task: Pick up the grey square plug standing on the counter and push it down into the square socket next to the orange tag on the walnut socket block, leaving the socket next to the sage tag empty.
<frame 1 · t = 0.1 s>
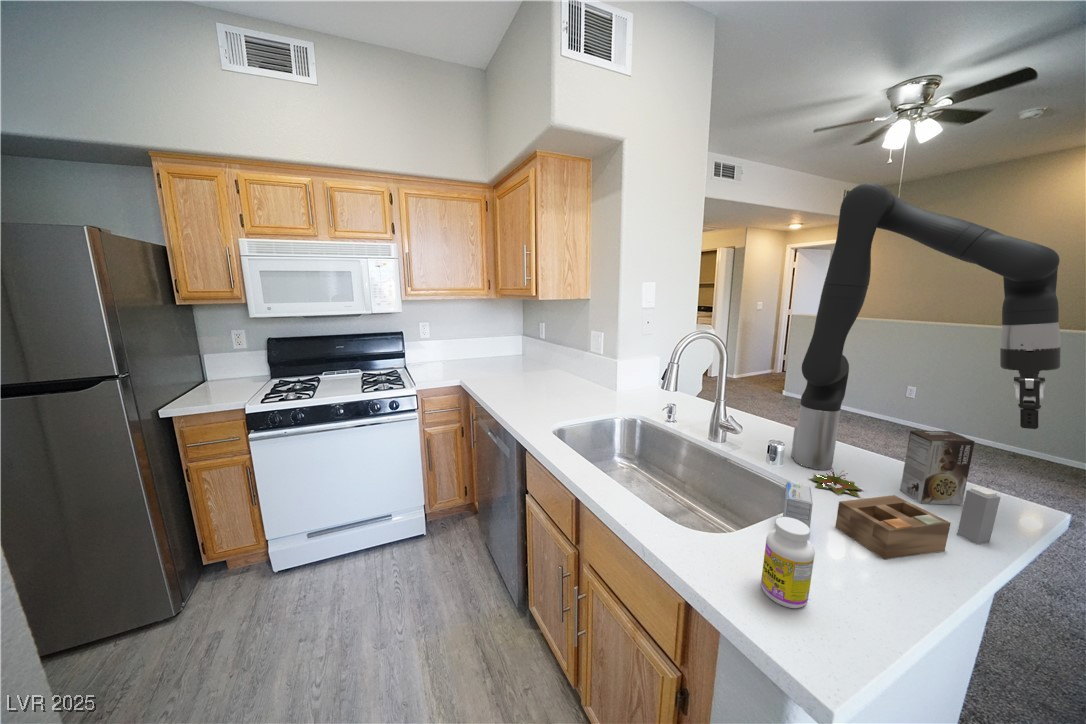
hand: (1029, 423, 78), 22 cm above the worktop, tool pointing down, fingers open, 8 cm apart
socket block: (887, 538, 76), on the worktop
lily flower: (834, 487, 97), on the worktop
supplement bottle: (783, 595, 63), on the worktop
plug: (973, 538, 76), on the worktop
coffee box: (929, 498, 91), on the worktop
medicine box: (794, 529, 80), on the worktop
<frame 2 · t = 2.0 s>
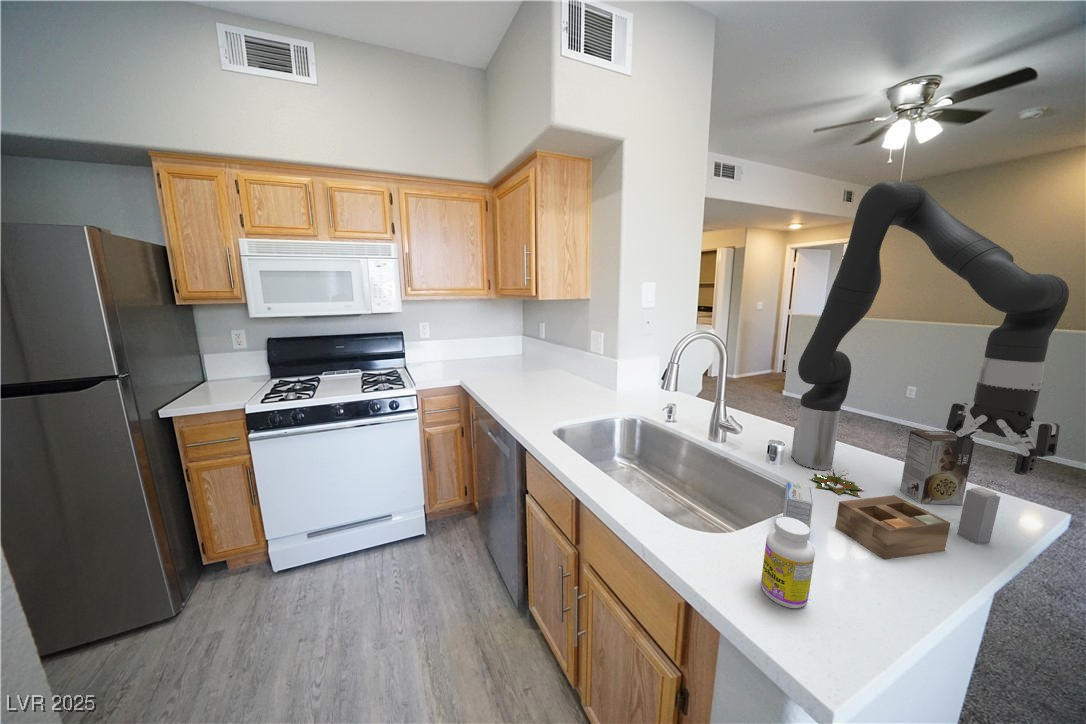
hand: (990, 463, 73), 16 cm above the worktop, tool pointing down, fingers open, 8 cm apart
nothing on the worktop moved.
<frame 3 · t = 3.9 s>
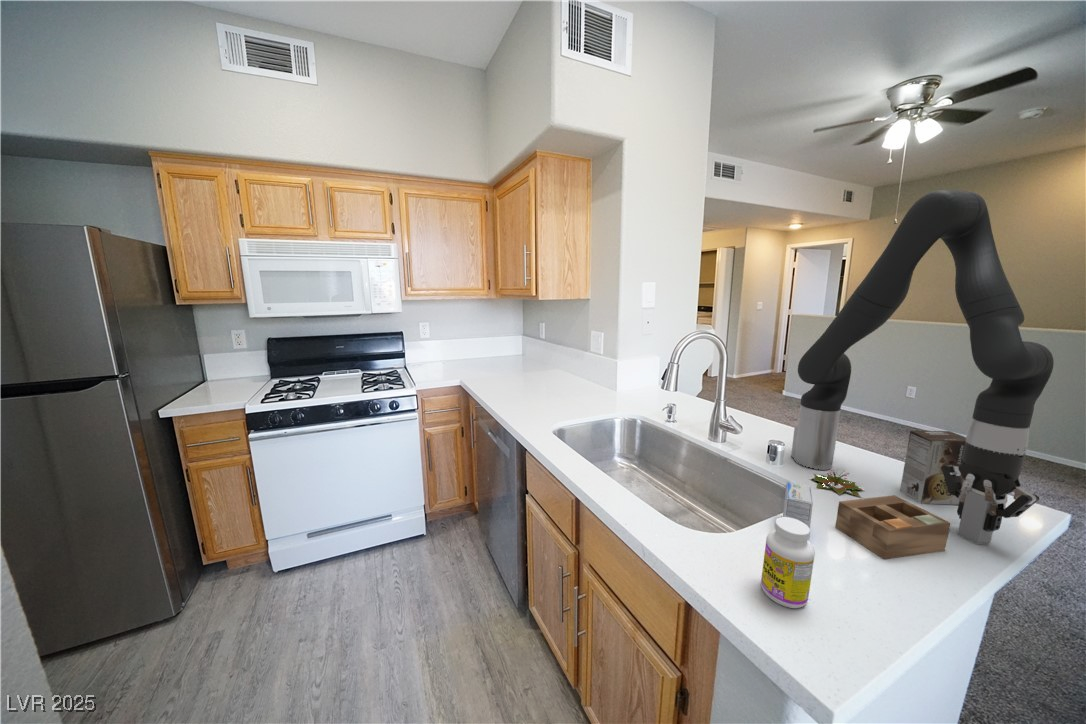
hand: (976, 524, 75), 3 cm above the worktop, tool pointing down, fingers closed on plug, 3 cm apart
plug: (973, 538, 76), on the worktop, touching gripper
everything else where it was.
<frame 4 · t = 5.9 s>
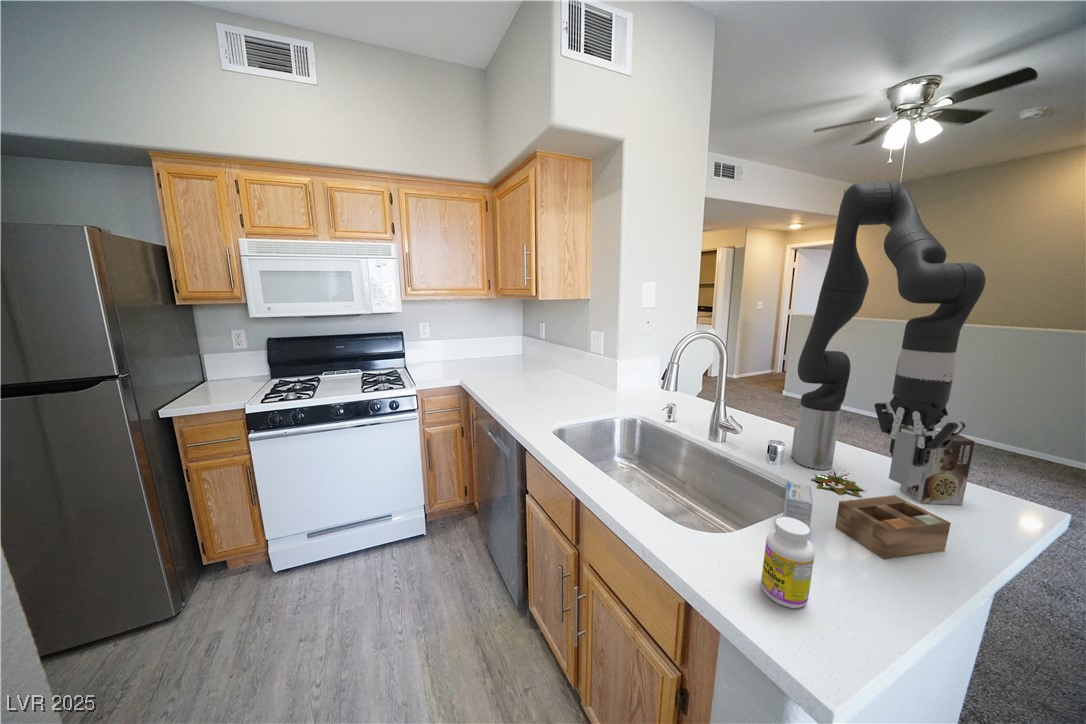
hand: (907, 460, 72), 17 cm above the worktop, tool pointing down, fingers closed on plug, 3 cm apart
plug: (904, 481, 73), point 13 cm above the worktop, touching gripper
everything else where it was.
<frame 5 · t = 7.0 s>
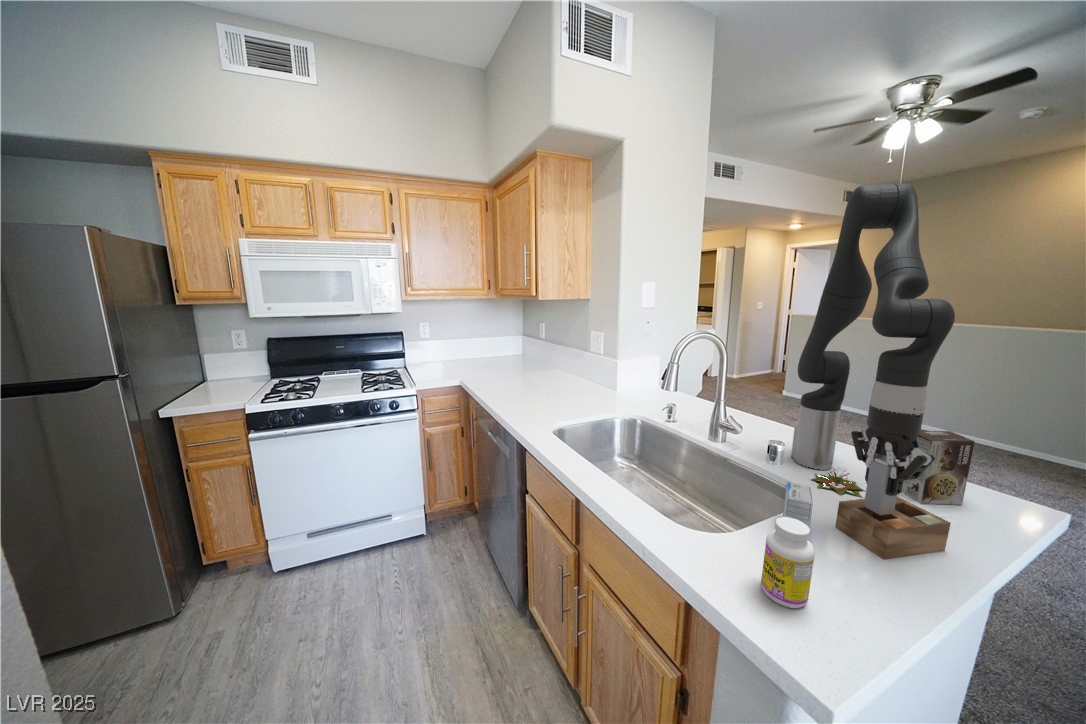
hand: (881, 489, 74), 11 cm above the worktop, tool pointing down, fingers closed on plug, 3 cm apart
plug: (878, 509, 75), point 7 cm above the worktop, touching gripper
everything else where it was.
when the fingers open (8 cm above the worktop, at t = 8.0 s): plug stays where it is, resting on socket block.
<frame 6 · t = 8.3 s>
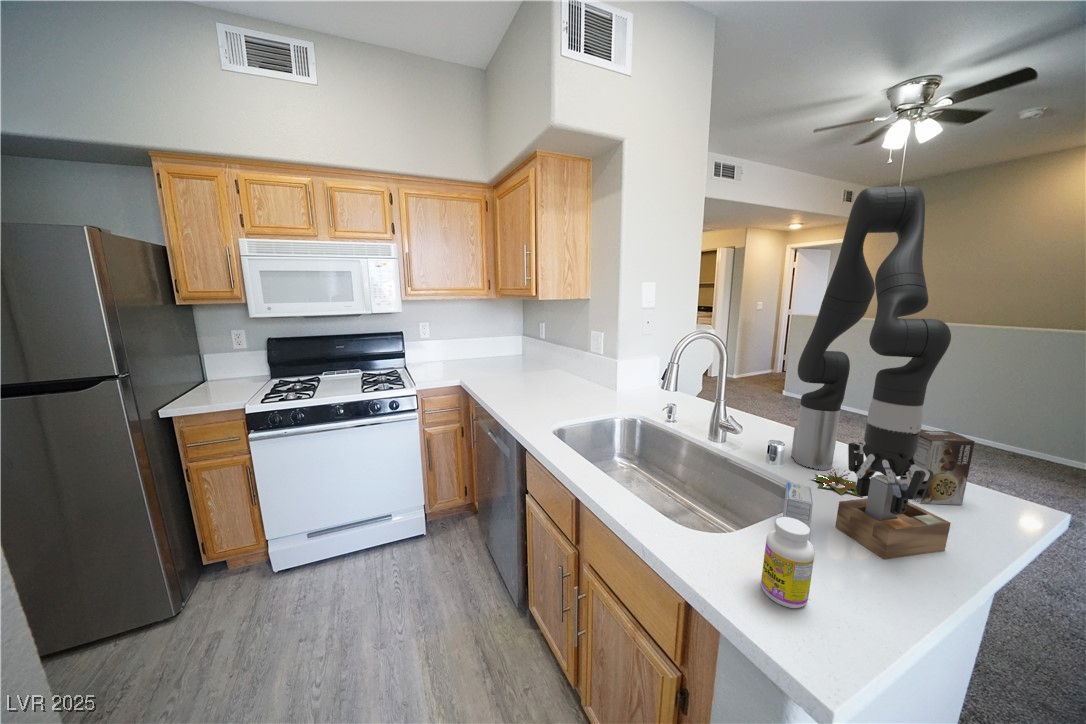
hand: (879, 503, 74), 8 cm above the worktop, tool pointing down, fingers open, 6 cm apart
plug: (877, 526, 75), point 3 cm above the worktop, touching socket block
everything else where it was.
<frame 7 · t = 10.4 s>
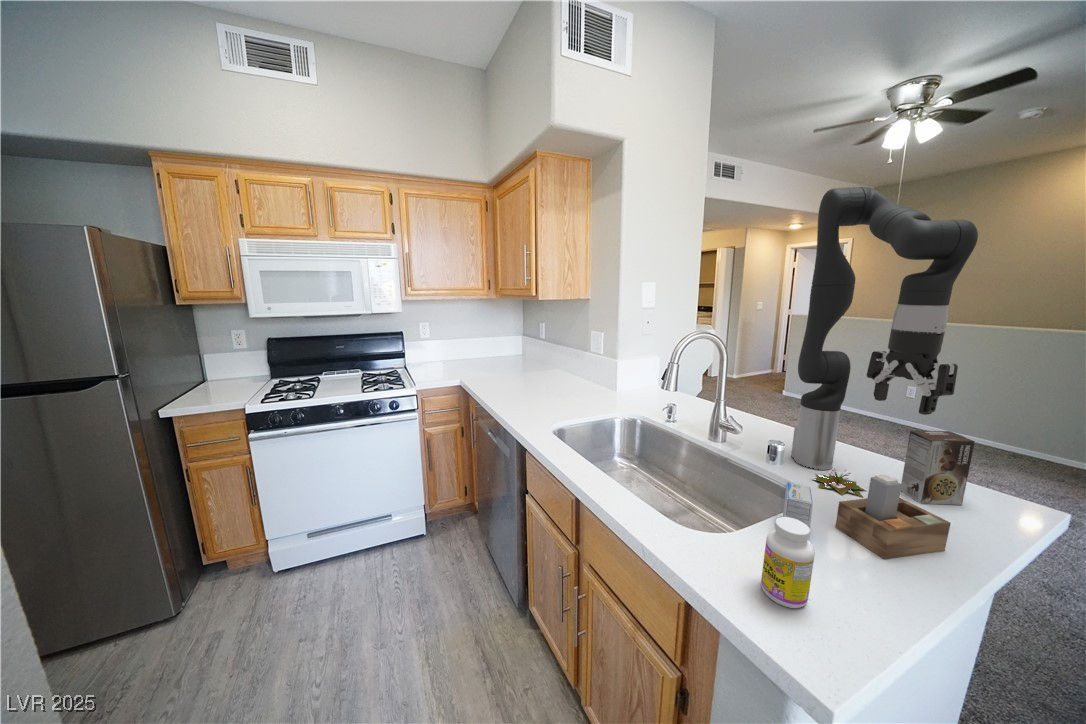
hand: (901, 406, 77), 26 cm above the worktop, tool pointing down, fingers open, 8 cm apart
nothing on the worktop moved.
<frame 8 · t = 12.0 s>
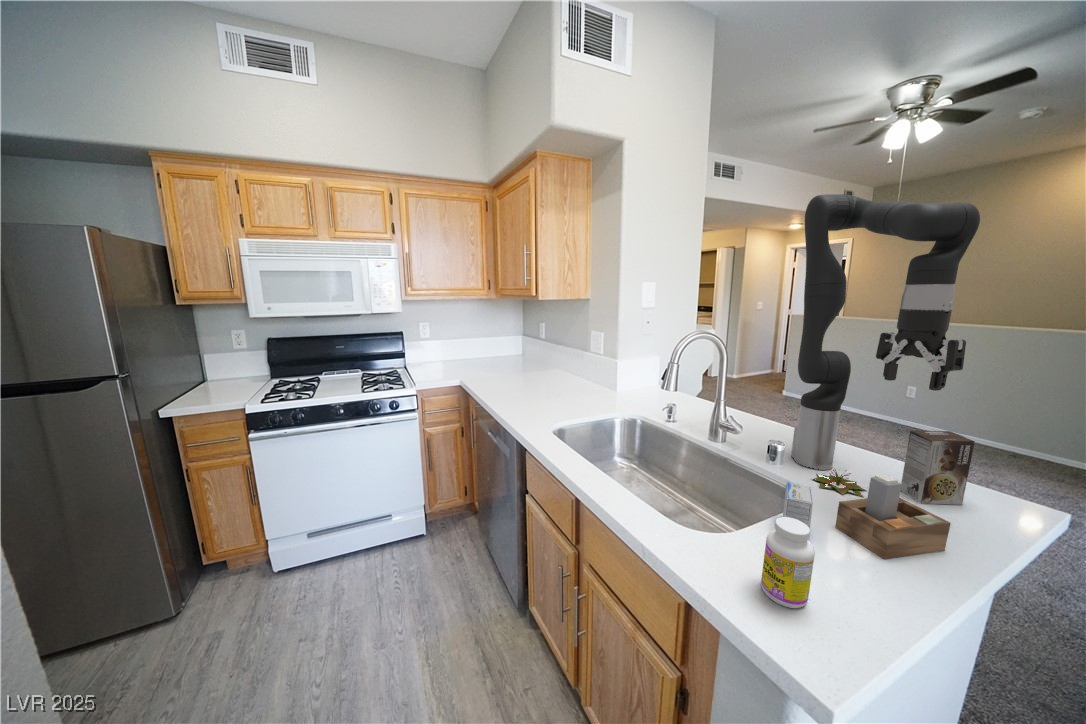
hand: (911, 384, 79), 30 cm above the worktop, tool pointing down, fingers open, 8 cm apart
nothing on the worktop moved.
at the end: plug 0.7 cm from the target spot on the socket block, point 3.0 cm above the socket block's base; plug tilted 0°; the gripper is holding nothing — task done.
